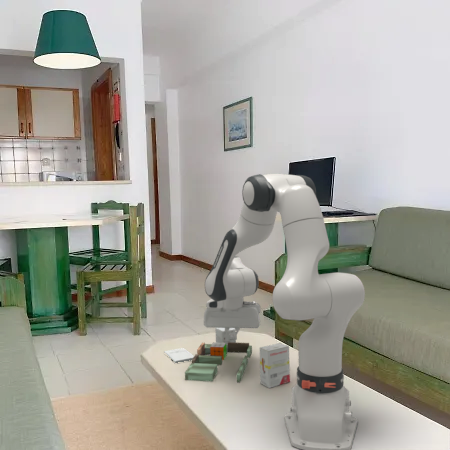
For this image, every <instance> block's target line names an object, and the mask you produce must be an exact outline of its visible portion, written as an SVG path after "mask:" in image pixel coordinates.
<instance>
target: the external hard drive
mask: <svg viewBox="0 0 450 450" xmlns="http://www.w3.org/2000/svg"><path fill="white" fill-rule="evenodd" d="M164 353H166V354H167V355H168V356H169V358H171V359H172V360H173V361H174V362H175V363H177V364H179V363H178V362H183V363H185V362H184V361H188V362H190V361H189V360H192V359H193V357H194V356H195V355H194V354H193V353H191V352H190V351H188V350H187V349H186V348H184V347H180V348H179V347H178V348H175V349H169V350H164V351H163V354H164ZM169 358H168V359H169ZM172 360H171V361H172ZM173 361H172V362H173ZM174 362H173V363H174ZM175 363H174V364H175Z"/></svg>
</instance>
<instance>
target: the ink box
mask: <svg viewBox="0 0 450 450" xmlns="http://www.w3.org/2000/svg"><path fill="white" fill-rule="evenodd" d="M290 371H291V367H290V346H289V345H287V344H284V343H281V342H279V343H274V344H270V345H265V346H260V347H259V382H260V384H261V385H263V386H265V387H266V388H269V389H271V388H274V387H278V386H282V385H284V384H287V383H290V382H291V375H290V374H291V373H290Z"/></svg>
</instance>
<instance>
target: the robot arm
mask: <svg viewBox="0 0 450 450" xmlns="http://www.w3.org/2000/svg"><path fill="white" fill-rule="evenodd" d="M241 193H242V195H241V196H242V201H243V203H242V206H241V210H240V213H239V216H238V219H237V220H236V223H235V224H234V226H233V227H232V228H230V230H228V231H227V232H226V234H225V235H224V237H223V240H222V242H221V244H220V246H219V250H218V252H217V254H216V256H215V259H214V262H213V264H212V267H211V269H210V270H209V273H208V274H207V276H206V278H205V280H204V291H205V293H206V295H207V296H208V297H209V298H210V299H208V300H207V301H206V304H205V306H206V309H205V310H204V313H203V326H204V328H207V329H208V328H209V329H211V328H213V329H215V328H225V332H226V333H227V335H228V340H236V341H237V339H238V333H239V332H240V329H258V328H259V327H260V325H261V317H260V316H261V315H260V313H261V305H260V303H258V302H256V301H245V300H244V297H249V296H253V295H255V294H256V292H257V291H258V289H259V284H260V281H259V276H258V274H257V272H256V271H255V270H254V269H252V268H249V267H247V266H246V265H245V264H244V263H243V262H242V261H243V260H242V259H241V257H239V256H238V254H239V253H241V252H243V251H245V250H246V249H248V248H251V247H253V246H257V245H259V244H261V243H264V242H265V241H266V240H267V239H268V238H269V237H270V235H271V234H272V232H273V229H274V227H275V222H276V219H277V214H278V213H280V217H281V218H280V219H281V224H282V230H283V235H284V241H285V245H286V253H287V262H286V266H285V270H284V273H283V275H282V277H281V279H280V280H279V281H278V282H277V284H276V285H275V286H274V289H273V290H272V291H273V292H272V296H271V297H272V299H271V300H272V302H271V303H272V305H273V308H274V310H275V312H276V314H278V316H279V317H280V318H281V319H283V320H288V321H289V320H290V321H306V320H312V323H311V324H310V326H309V327H308V328H307V329H306V330H305V331H304V332H302V334H301V335H300V336H299V339H298V343H297V344H298V346H297V347H298V349H297V350H298V366H297V368H296V384H295V385H294V386H293V387H291V406H290V412H286V413H285V414H284V418H283V419H284V423H285V426H286V430H287V434H288V436H289V437H288V439H289V441H290V445H291V446H292V447H294V448H296V449H300V450H352V446H353V443H354V439H355V435H356V431H357V428H358V427H357V426H358V423H359V422H358V419H357V417H355V416H353V412H352V411H350V407H351V406H352V401H351V400H350V391H349V389H348V388H346V387H345V386H344V382H345V381H344V379H345V374H344V368H342V363H343V361H342V360H343V359H342V358H343V356H342V355H343V341H344V337H345V333H346V330H347V328H348V325H349V323H350V321H351V319H352V318H353V316H354V314H355V313H356V312H357V311H358V310H359V309H360V308H362V306H363V305H364V302H365V297H366V291H365V286H364V284H363V282H362V280H361V278H359V277H358V276H357V275H355V274H353V273H352V274H351V273H347V272H339V271H338V272H330V273H322V274H320V273H319V270H318V267H319V262H320V260H322V259H323V258H324V257H325V256H326V255H327V254H328V252H329V250H330V241H329V238H328V233H327V232H328V231H327V229H326V224H325V220H324V215H323V213H322V209H321V206H320V203H319V201H318V198H317V189H316V185H315V183H314V181H313V180H312V178H311V177H308V176H306V175H304V174H303V175H302V174H296V175H295V174H289V173H288V174H285V173H268V174H267V173H266V174H261V173H260V174H259V173H258V174H254V175H251V176H249V177H247V178H246V180H245V181H244V184H243V185H242V191H241ZM230 328H235V331H236V333H235V334H230V332H229V329H230Z"/></svg>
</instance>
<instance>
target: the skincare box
mask: <svg viewBox="0 0 450 450" xmlns="http://www.w3.org/2000/svg"><path fill="white" fill-rule="evenodd" d="M214 329H215V331H214V332H215V342H216V343H226V345H228V342H236V343H237V340H228V335H227V333H226V332H225V328H214ZM229 332H230V334H235V333H236V331H235V328H230V329H229Z"/></svg>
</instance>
